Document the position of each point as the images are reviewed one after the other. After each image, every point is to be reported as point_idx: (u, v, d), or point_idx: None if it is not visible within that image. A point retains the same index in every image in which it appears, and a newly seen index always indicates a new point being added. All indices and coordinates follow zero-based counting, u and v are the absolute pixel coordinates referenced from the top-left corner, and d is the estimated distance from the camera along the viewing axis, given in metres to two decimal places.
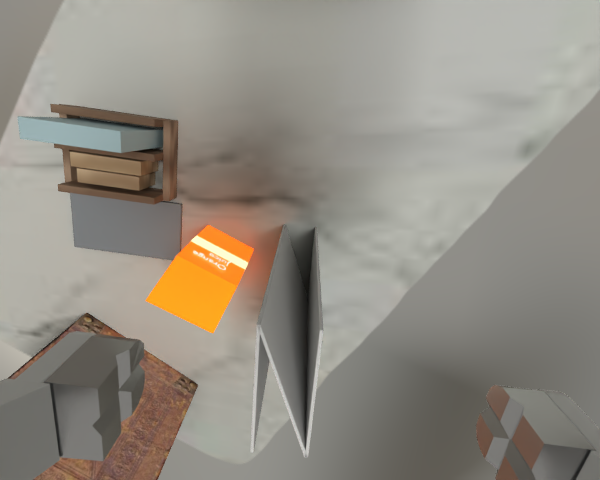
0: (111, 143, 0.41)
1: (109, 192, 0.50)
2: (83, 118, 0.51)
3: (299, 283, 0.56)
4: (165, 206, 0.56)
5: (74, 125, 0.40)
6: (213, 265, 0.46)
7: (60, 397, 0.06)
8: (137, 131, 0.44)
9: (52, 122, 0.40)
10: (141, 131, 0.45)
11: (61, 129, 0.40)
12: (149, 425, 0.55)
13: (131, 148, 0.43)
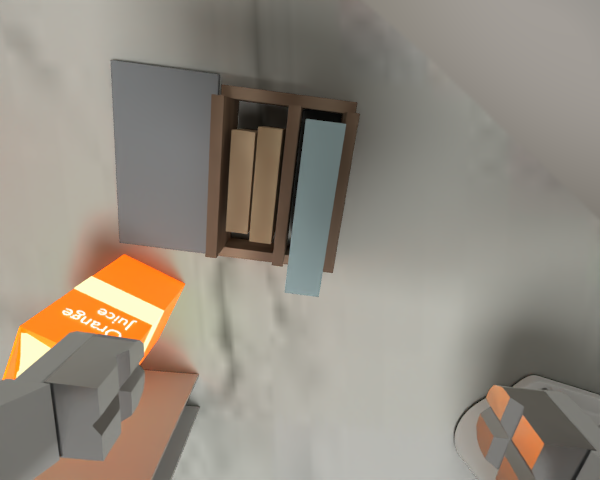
0: (299, 280, 0.24)
1: (218, 187, 0.30)
2: None
3: None
4: (204, 231, 0.37)
5: (328, 225, 0.23)
6: None
7: (60, 397, 0.06)
8: None
9: (334, 188, 0.22)
10: None
11: (321, 201, 0.23)
12: None
13: None
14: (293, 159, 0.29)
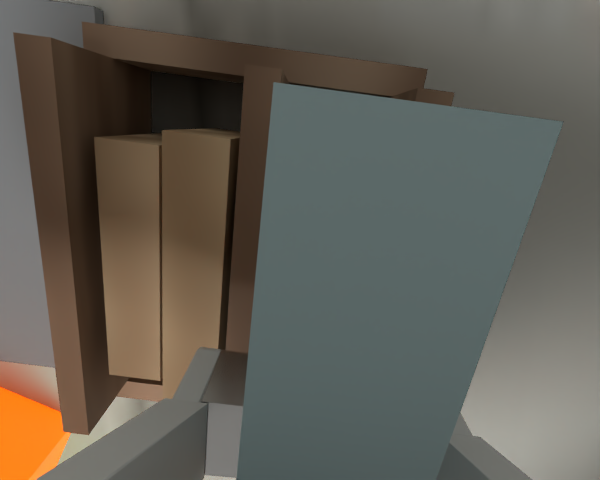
0: None
1: (71, 286, 0.12)
2: None
3: None
4: None
5: None
6: None
7: (215, 416, 0.06)
8: None
9: (431, 461, 0.04)
10: None
11: None
12: None
13: None
14: None
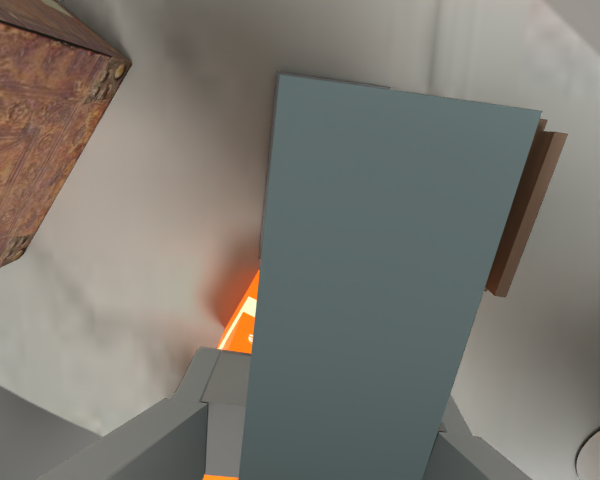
0: None
1: None
2: None
3: None
4: None
5: None
6: None
7: (215, 416, 0.06)
8: None
9: (426, 435, 0.04)
10: None
11: None
12: None
13: None
14: None
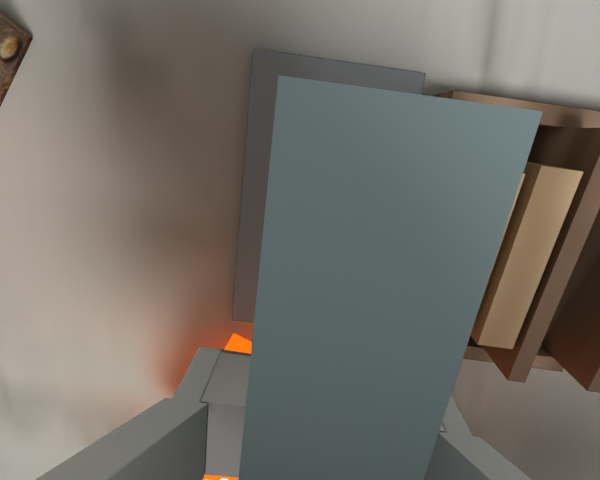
0: None
1: None
2: None
3: None
4: None
5: None
6: None
7: (215, 416, 0.06)
8: None
9: (426, 437, 0.04)
10: None
11: None
12: None
13: None
14: (591, 221, 0.17)
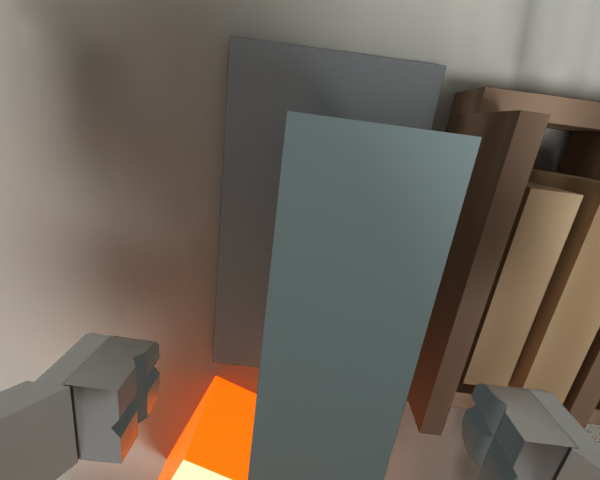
0: None
1: (479, 310, 0.14)
2: None
3: None
4: None
5: None
6: None
7: (79, 399, 0.06)
8: None
9: (402, 387, 0.06)
10: None
11: (350, 428, 0.06)
12: None
13: None
14: None
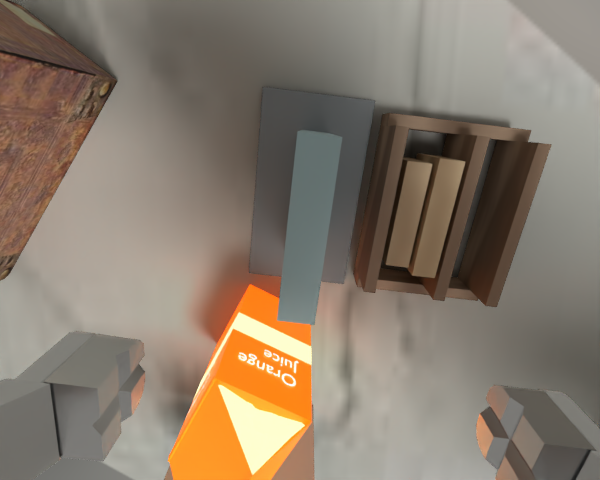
0: (293, 307, 0.22)
1: (387, 221, 0.28)
2: None
3: None
4: (340, 261, 0.35)
5: (324, 248, 0.21)
6: None
7: (60, 397, 0.06)
8: None
9: (329, 207, 0.20)
10: None
11: (316, 222, 0.20)
12: None
13: None
14: (473, 191, 0.27)
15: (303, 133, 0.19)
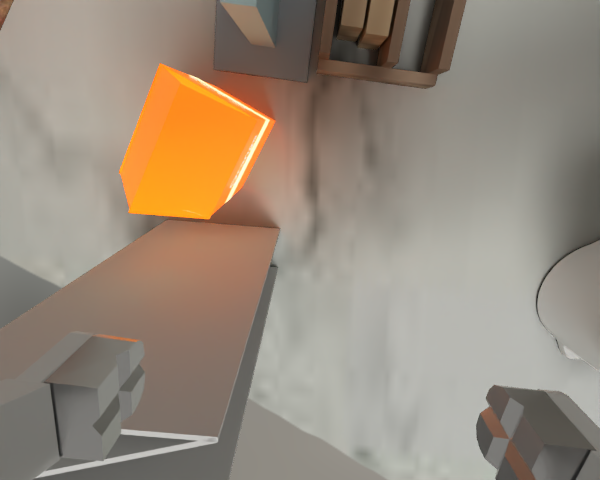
0: None
1: None
2: None
3: None
4: (302, 54, 0.36)
5: None
6: (235, 169, 0.29)
7: (60, 397, 0.06)
8: (263, 23, 0.27)
9: None
10: (264, 27, 0.28)
11: None
12: None
13: (233, 14, 0.26)
14: None
15: None
